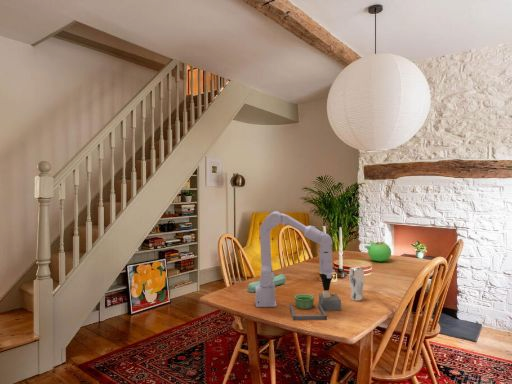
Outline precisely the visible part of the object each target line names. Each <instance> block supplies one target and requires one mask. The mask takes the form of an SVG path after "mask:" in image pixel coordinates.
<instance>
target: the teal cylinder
mask: <svg viewBox="0 0 512 384" xmlns="http://www.w3.org/2000/svg"><path fill="white" fill-rule="evenodd" d="M286 282H287V278H286V276H285V274H283V273H279V275H276V276H275V277H274V280H273V283H274V284H275V287H277V286H279V285H285V284H286ZM259 285H260V282H259V280H258V281H253V282H250V283H248V285H247V291H248V292H249V293H256V286H259Z"/></svg>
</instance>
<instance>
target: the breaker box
mask: <svg viewBox="0 0 512 384" xmlns="http://www.w3.org/2000/svg"><path fill="white" fill-rule="evenodd" d="M318 304H321V306H322V308H323V310H324V311H342V300H341V298H340V297H339V295H338V294H337V293H334V292H331V293H330V298H323V297H322V292H321V293H319V292H318Z"/></svg>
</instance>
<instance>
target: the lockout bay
mask: <svg viewBox="0 0 512 384" xmlns="http://www.w3.org/2000/svg"><path fill="white" fill-rule="evenodd" d="M317 306H318V307H317V308H318V309H319V312H320V314H317V315H316V314H314V315H313V314H311V315H308V314H307V315H304V314H303V315H301V314H300V315H299V314H298V315H296V313H295V311H294V307H293V304H289V310H290V314H291V317H292V320H293V321H308V320H309V321H310V320H311V321H315V320H316V321H318V320H319V321H322V320H324V321H325V320H326V321H327V320H328V316H327V314H326V312H325V310H323V308H322V306H321V304H319V303H318V305H317Z"/></svg>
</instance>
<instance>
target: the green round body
mask: <svg viewBox="0 0 512 384" xmlns="http://www.w3.org/2000/svg"><path fill="white" fill-rule="evenodd" d="M369 243H370V245H367V244H366V245H364V248H365V249H367V253H368V254H367V255H368V256H369V258H371V260H373V261H374V262H380V263H381V262H386V261H388V260H389V259H390V258H391V255H392V250H391V247H390V246H389V245H388V244H387V243H385V242H384V241H377V242H374V241H373V240H369Z"/></svg>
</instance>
